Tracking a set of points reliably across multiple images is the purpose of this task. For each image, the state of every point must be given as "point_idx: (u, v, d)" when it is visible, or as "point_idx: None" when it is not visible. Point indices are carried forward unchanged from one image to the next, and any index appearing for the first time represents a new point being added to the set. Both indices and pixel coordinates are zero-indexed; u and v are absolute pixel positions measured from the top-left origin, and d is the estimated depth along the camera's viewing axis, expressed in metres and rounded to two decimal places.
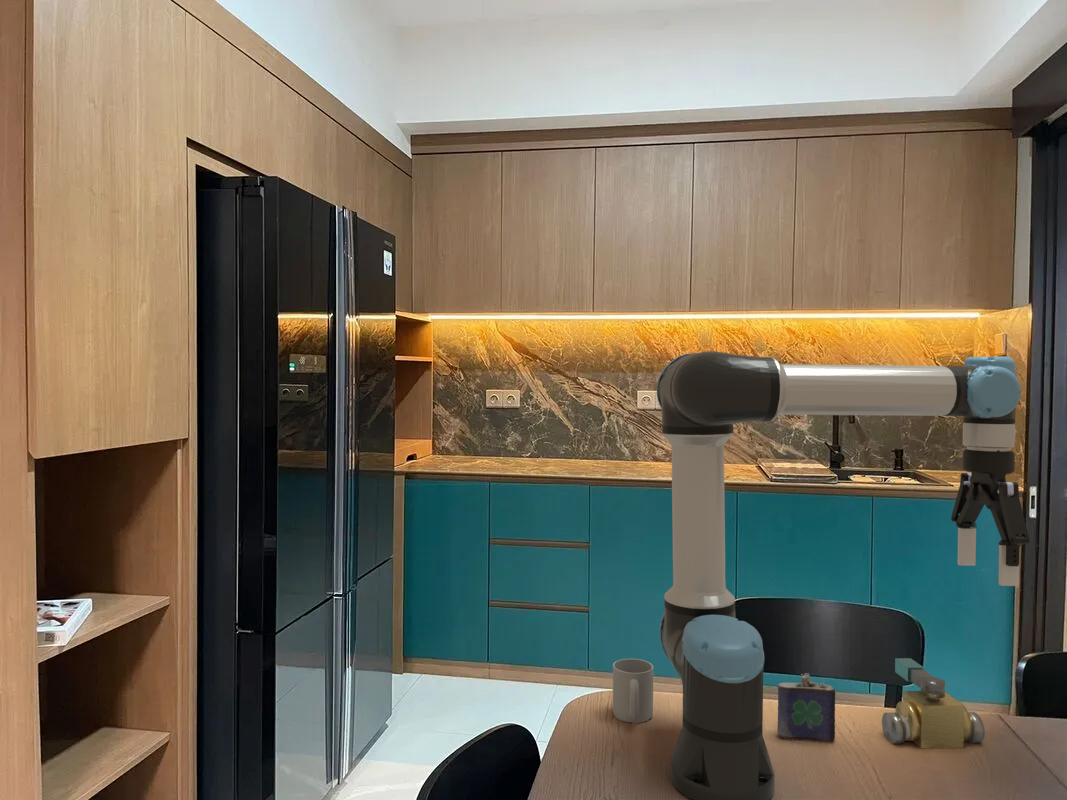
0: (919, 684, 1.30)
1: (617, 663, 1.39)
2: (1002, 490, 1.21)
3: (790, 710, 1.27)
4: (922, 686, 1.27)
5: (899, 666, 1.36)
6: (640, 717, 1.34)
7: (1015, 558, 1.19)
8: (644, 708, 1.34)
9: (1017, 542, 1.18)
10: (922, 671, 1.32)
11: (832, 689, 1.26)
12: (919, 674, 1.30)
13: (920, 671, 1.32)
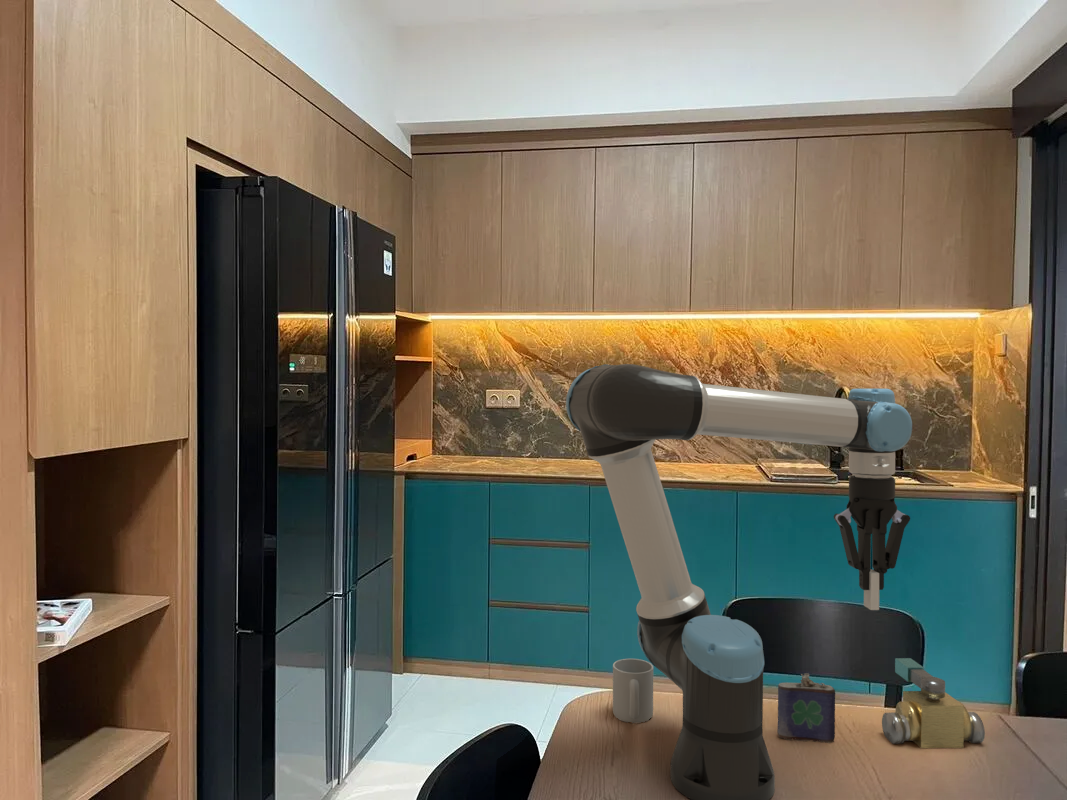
0: (919, 684, 1.30)
1: (617, 663, 1.39)
2: (837, 521, 1.36)
3: (790, 710, 1.27)
4: (922, 686, 1.27)
5: (899, 666, 1.36)
6: (640, 717, 1.34)
7: (861, 582, 1.35)
8: (644, 708, 1.34)
9: (850, 565, 1.35)
10: (922, 671, 1.32)
11: (832, 689, 1.26)
12: (919, 674, 1.30)
13: (920, 671, 1.32)
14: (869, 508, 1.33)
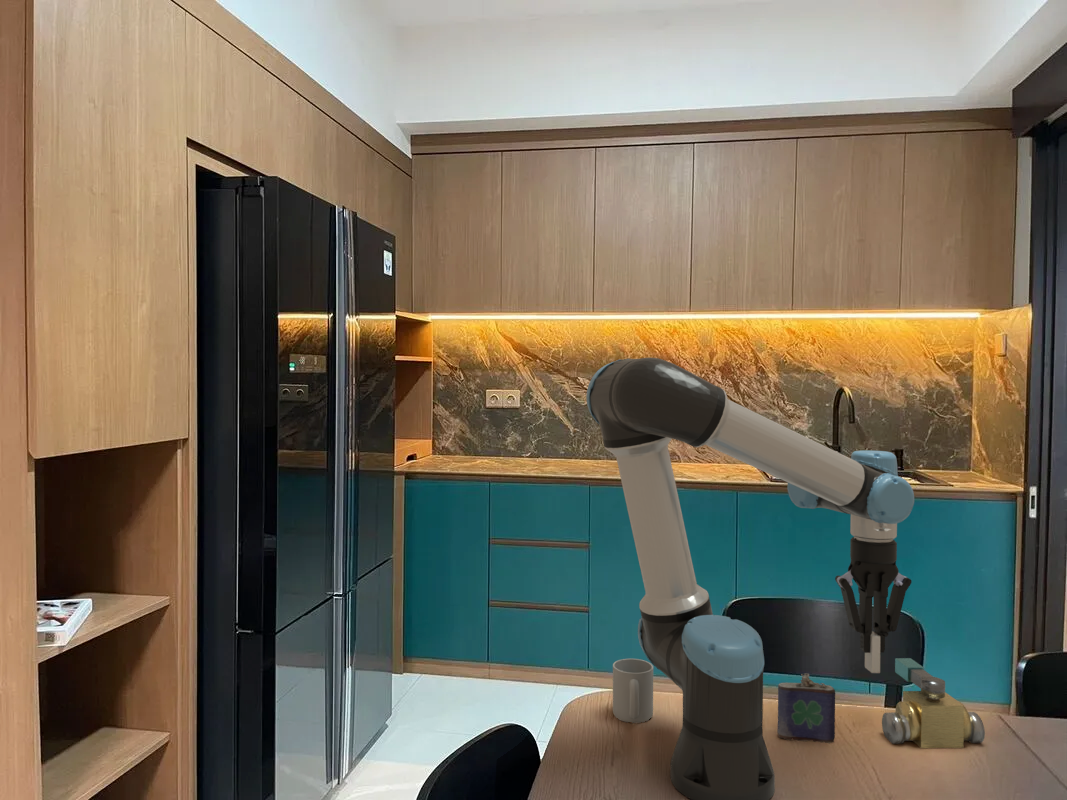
0: (919, 684, 1.30)
1: (617, 663, 1.39)
2: (838, 583, 1.36)
3: (790, 710, 1.27)
4: (922, 686, 1.27)
5: (899, 666, 1.36)
6: (640, 717, 1.34)
7: (862, 644, 1.35)
8: (644, 708, 1.34)
9: (851, 627, 1.35)
10: (922, 671, 1.32)
11: (832, 689, 1.26)
12: (919, 674, 1.30)
13: (920, 671, 1.32)
14: (870, 571, 1.34)
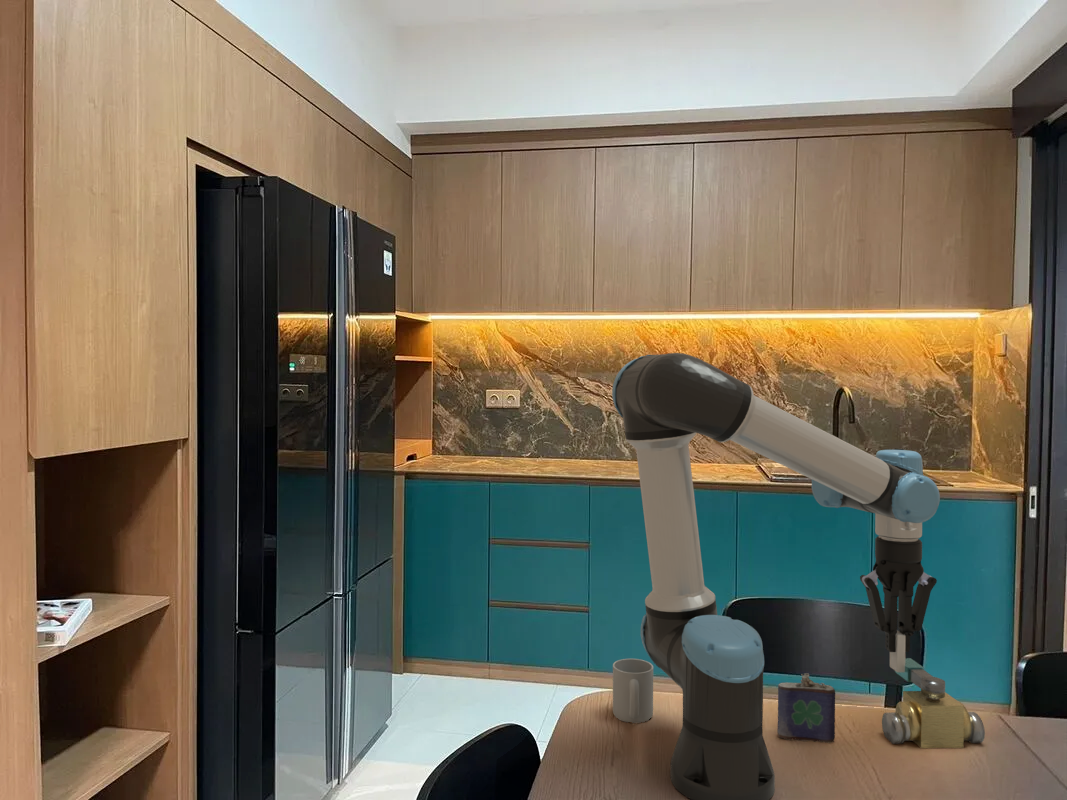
0: (919, 684, 1.30)
1: (617, 663, 1.39)
2: (863, 583, 1.36)
3: (790, 710, 1.27)
4: (922, 686, 1.27)
5: None
6: (640, 717, 1.34)
7: (887, 643, 1.35)
8: (644, 708, 1.34)
9: (876, 626, 1.35)
10: (922, 671, 1.32)
11: (832, 689, 1.26)
12: (919, 674, 1.30)
13: (920, 671, 1.32)
14: (896, 570, 1.34)
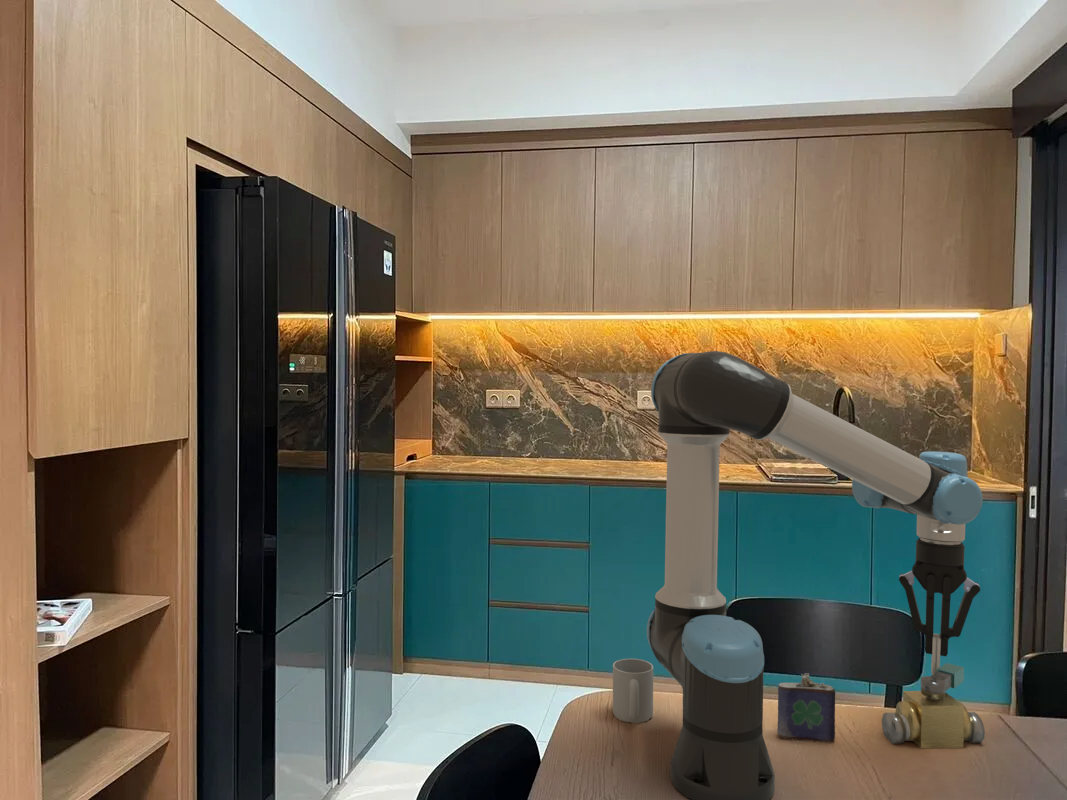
0: None
1: (617, 663, 1.39)
2: None
3: (790, 710, 1.27)
4: None
5: None
6: (640, 717, 1.34)
7: None
8: (644, 708, 1.34)
9: None
10: (945, 675, 1.30)
11: (832, 689, 1.26)
12: (935, 675, 1.30)
13: (943, 674, 1.30)
14: (933, 572, 1.33)
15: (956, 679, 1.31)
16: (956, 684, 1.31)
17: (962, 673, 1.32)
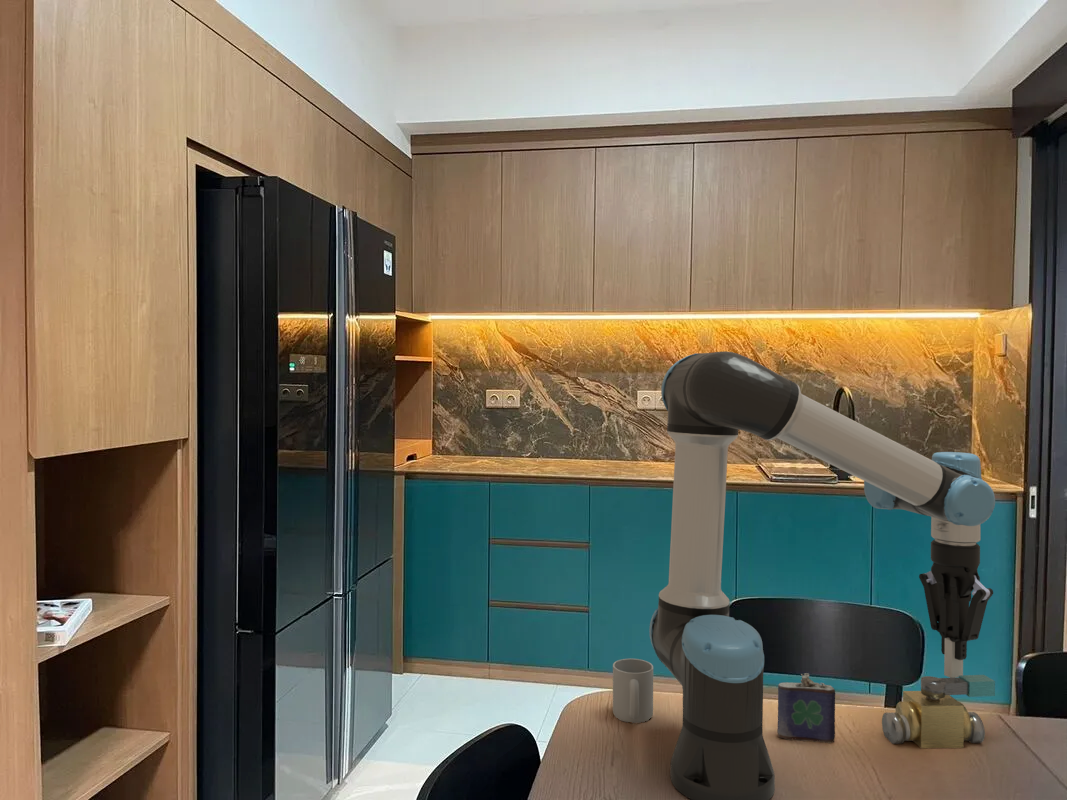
0: None
1: (617, 663, 1.39)
2: None
3: (790, 710, 1.27)
4: None
5: None
6: (640, 717, 1.34)
7: None
8: (644, 708, 1.34)
9: None
10: (958, 681, 1.27)
11: (832, 689, 1.26)
12: (947, 678, 1.28)
13: (957, 680, 1.28)
14: (945, 573, 1.33)
15: (974, 688, 1.26)
16: (975, 694, 1.27)
17: (990, 686, 1.27)
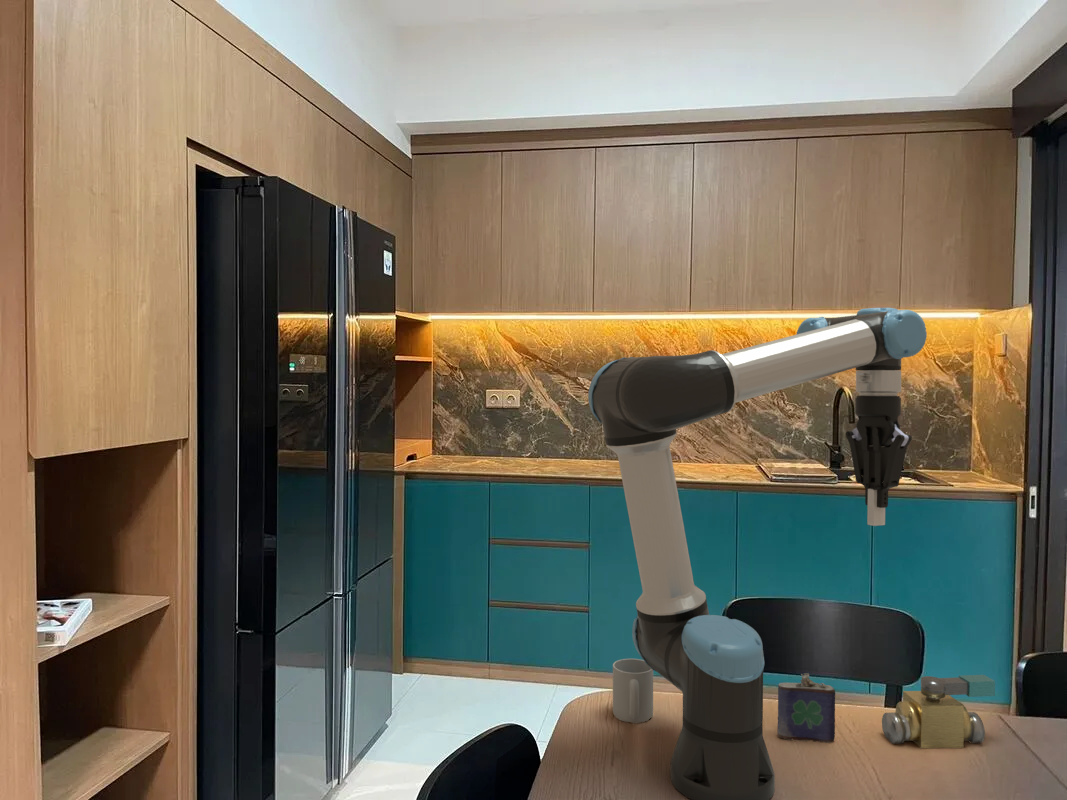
0: None
1: (617, 663, 1.39)
2: None
3: (790, 710, 1.27)
4: None
5: None
6: (640, 717, 1.34)
7: None
8: (644, 708, 1.34)
9: None
10: (958, 681, 1.27)
11: (832, 689, 1.26)
12: (947, 678, 1.28)
13: (957, 680, 1.28)
14: (868, 425, 1.38)
15: (974, 688, 1.26)
16: (975, 694, 1.27)
17: (990, 686, 1.27)
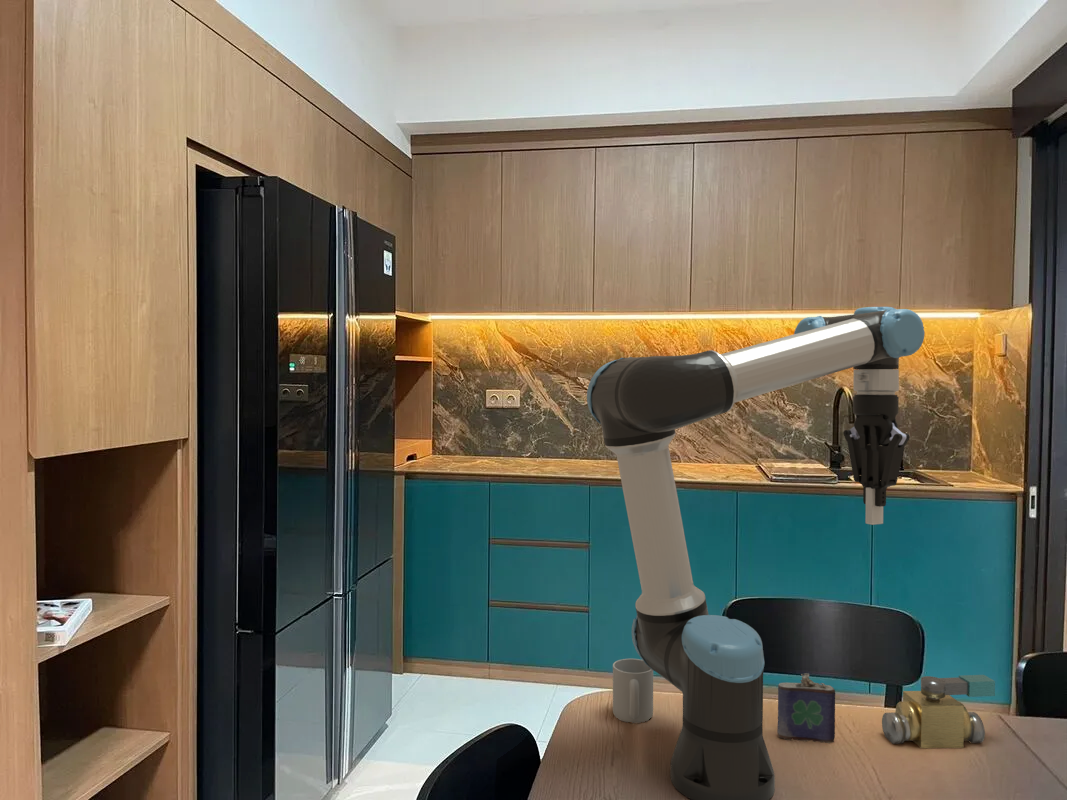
0: None
1: (617, 663, 1.39)
2: None
3: (790, 710, 1.27)
4: None
5: None
6: (640, 717, 1.34)
7: None
8: (644, 708, 1.34)
9: None
10: (958, 681, 1.27)
11: (832, 689, 1.26)
12: (947, 678, 1.28)
13: (957, 680, 1.28)
14: (866, 424, 1.38)
15: (974, 688, 1.26)
16: (975, 694, 1.27)
17: (990, 686, 1.27)
